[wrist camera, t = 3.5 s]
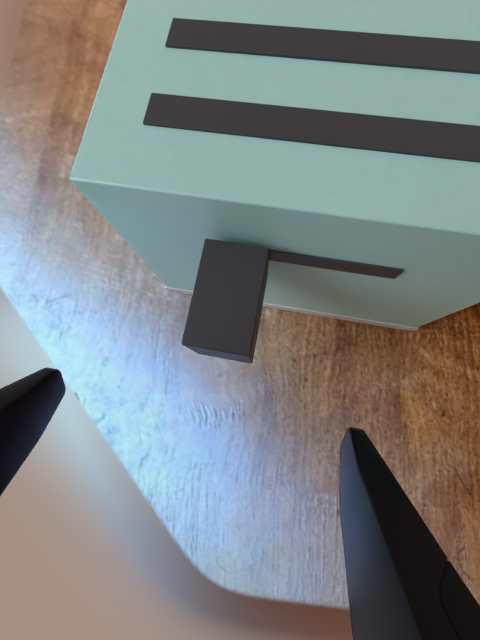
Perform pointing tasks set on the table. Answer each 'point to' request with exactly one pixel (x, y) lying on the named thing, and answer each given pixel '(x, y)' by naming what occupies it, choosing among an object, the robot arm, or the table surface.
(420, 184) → the toaster
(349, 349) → the table surface
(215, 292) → the slider
